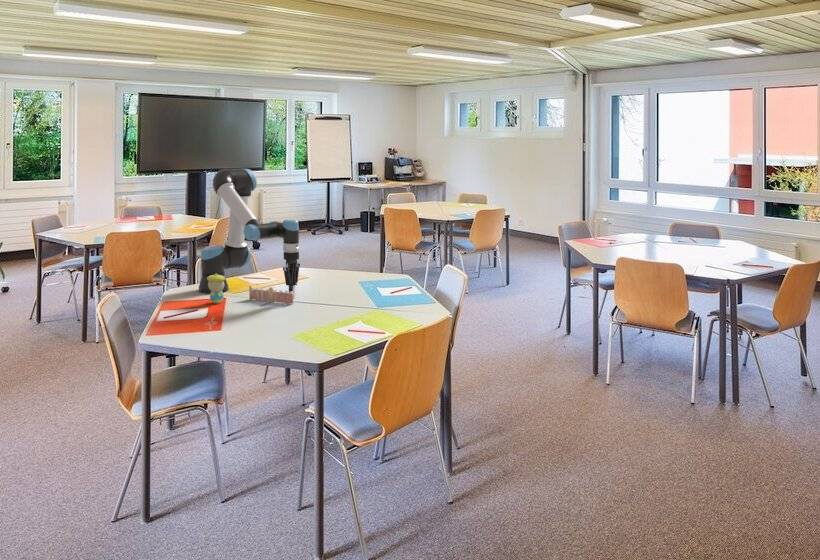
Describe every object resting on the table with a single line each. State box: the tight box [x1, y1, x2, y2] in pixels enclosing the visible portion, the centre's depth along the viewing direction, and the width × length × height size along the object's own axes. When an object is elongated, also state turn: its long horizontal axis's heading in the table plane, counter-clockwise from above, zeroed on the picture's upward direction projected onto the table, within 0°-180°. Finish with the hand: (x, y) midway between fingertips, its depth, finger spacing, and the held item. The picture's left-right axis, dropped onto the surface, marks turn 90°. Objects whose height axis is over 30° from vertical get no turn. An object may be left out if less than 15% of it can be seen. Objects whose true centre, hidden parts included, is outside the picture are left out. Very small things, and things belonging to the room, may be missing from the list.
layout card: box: [242, 299, 290, 310], centre depth 327 cm, size 20×14×1 cm
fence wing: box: [274, 289, 294, 305], centre depth 327 cm, size 10×1×6 cm, turn 70°
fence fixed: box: [248, 285, 275, 303], centre depth 332 cm, size 14×2×8 cm, turn 70°
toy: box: [207, 274, 226, 305], centre depth 325 cm, size 8×9×15 cm
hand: (292, 298), depth 331 cm, fingers closed
